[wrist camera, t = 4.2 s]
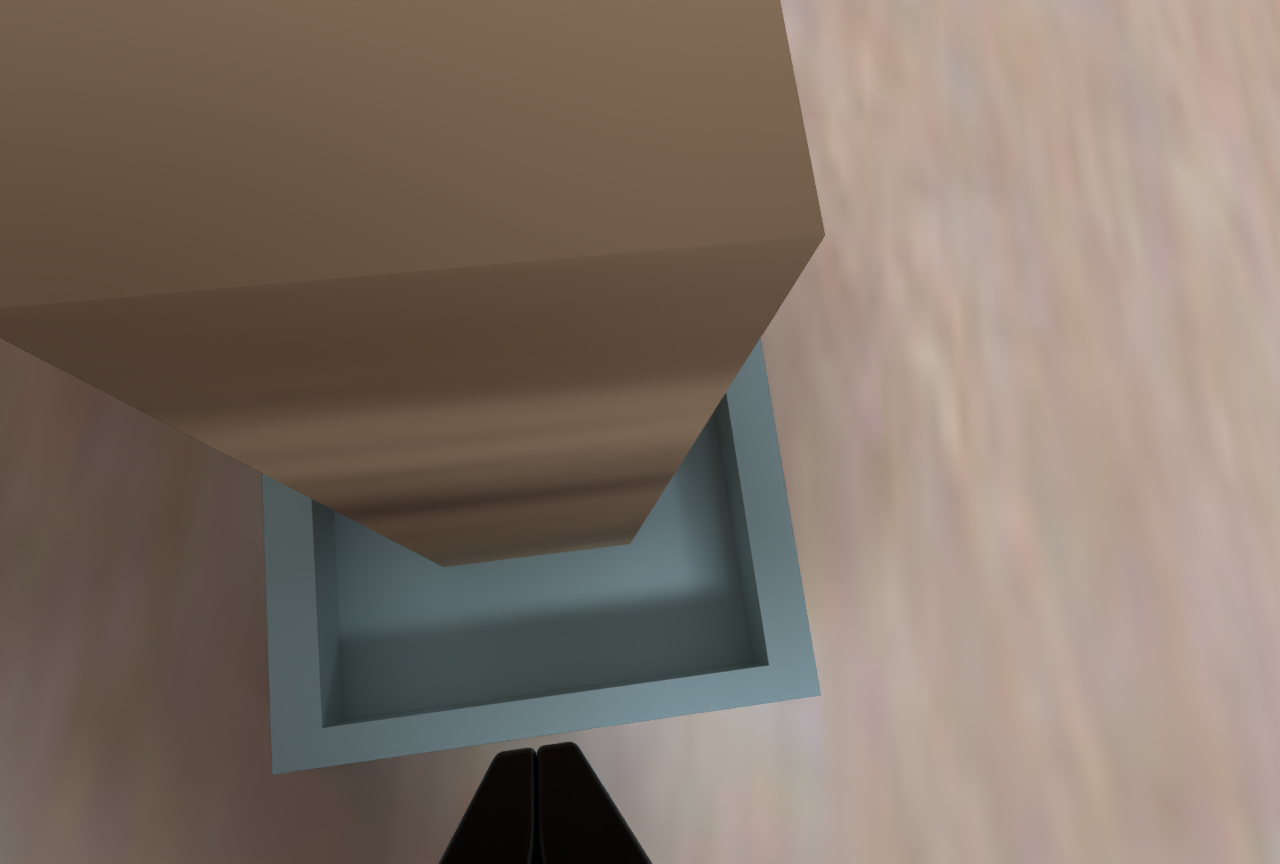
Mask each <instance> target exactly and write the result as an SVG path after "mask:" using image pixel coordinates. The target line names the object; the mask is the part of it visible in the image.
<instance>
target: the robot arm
mask: <svg viewBox="0 0 1280 864" xmlns="http://www.w3.org/2000/svg"><path fill="white" fill-rule="evenodd" d="M439 864H652V862H651V861H650V859H649V857H648V856H647V854H646V853H645V851H644V849H643V848H642V846H641V845H640V843H639V842H638V840H637V838H636V837H635V835H634V834H633V832H632V831H631V829H630V827H629V826H628V824H627V823H626V821H625V819H624V818H623V816H622V815H621V813H620V812H619V810H618V808H617V807H616V805H615V804H614V802H613V801H612V799H611V797H610V796H609V794H608V793H607V791H606V789H605V788H604V786H603V785H602V783H601V782H600V780H599V778H598V777H597V775H596V774H595V772H594V770H593V769H592V767H591V766H590V764H589V763H588V761H587V759H586V758H585V756H584V755H583V753H582V752H581V750H580V748H579V747H578V746H577V745H576V744H575V743H573V742H564V743H557V744H551V745H544V746H541V747H540V748H539V749H538V751H537V754H536V752H535V750H534V749H532V748H524V749H517V750H510V751H503V752H500V753H498V754H497V755H496V756H495V758H494V759H493V761H492V763H491V764H490V766H489V768H488V770H487V772H486V774H485V776H484V778H483V780H482V782H481V784H480V785H479V787H478V789H477V791H476V793H475V795H474V797H473V799H472V801H471V803H470V805H469V807H468V808H467V810H466V812H465V814H464V816H463V818H462V820H461V822H460V824H459V826H458V828H457V829H456V831H455V833H454V835H453V837H452V839H451V841H450V843H449V845H448V847H447V849H446V851H445V852H444V854H443V856H442V858H441V860H440V862H439Z"/></svg>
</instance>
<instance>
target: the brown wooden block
mask: <svg viewBox="0 0 1280 864" xmlns="http://www.w3.org/2000/svg"><path fill="white" fill-rule="evenodd" d="M824 236H825V233H824V228H823V223H822V217H821V212H820V207H819V202H818V196H817V191H816V186H815V181H814V175H813V170H812V165H811V160H810V155H809V149H808V144H807V139H806V134H805V128H804V123H803V118H802V113H801V108H800V102H799V97H798V92H797V87H796V81H795V76H794V71H793V66H792V61H791V55H790V50H789V45H788V40H787V34H786V29H785V24H784V19H783V13H782V8H781V3H780V0H0V338H2V339H4V340H5V341H7V342H9V343H11V344H13V345H15V346H17V347H19V348H21V349H23V350H25V351H27V352H29V353H31V354H33V355H34V356H36V357H38V358H40V359H42V360H44V361H46V362H48V363H50V364H52V365H54V366H56V367H58V368H60V369H61V370H63V371H65V372H67V373H69V374H71V375H73V376H75V377H77V378H79V379H81V380H83V381H85V382H87V383H89V384H90V385H92V386H94V387H96V388H98V389H100V390H102V391H104V392H106V393H108V394H110V395H112V396H114V397H116V398H118V399H119V400H121V401H123V402H125V403H127V404H129V405H131V406H133V407H135V408H137V409H139V410H141V411H143V412H145V413H146V414H148V415H150V416H152V417H154V418H156V419H158V420H160V421H162V422H164V423H166V424H168V425H170V426H172V427H174V428H175V429H177V430H179V431H181V432H183V433H185V434H187V435H189V436H191V437H193V438H195V439H197V440H199V441H201V442H202V443H204V444H206V445H208V446H210V447H212V448H214V449H216V450H218V451H220V452H222V453H224V454H226V455H228V456H230V457H231V458H233V459H235V460H237V461H239V462H241V463H243V464H245V465H247V466H249V467H251V468H253V469H255V470H257V471H259V472H260V473H262V474H264V475H266V476H268V477H270V478H272V479H274V480H276V481H278V482H280V483H282V484H284V485H286V486H287V487H289V488H291V489H293V490H295V491H297V492H299V493H301V494H303V495H305V496H307V497H309V498H311V499H313V500H315V501H316V502H318V503H320V504H322V505H324V506H326V507H328V508H330V509H332V510H334V511H336V512H338V513H340V514H342V515H343V516H345V517H347V518H349V519H351V520H353V521H355V522H357V523H359V524H361V525H363V526H365V527H367V528H369V529H371V530H372V531H374V532H376V533H378V534H380V535H382V536H384V537H386V538H388V539H390V540H392V541H394V542H396V543H398V544H399V545H401V546H403V547H405V548H407V549H409V550H411V551H413V552H415V553H417V554H419V555H421V556H423V557H425V558H427V559H428V560H430V561H432V562H434V563H436V564H438V565H440V566H442V567H449V566H457V565H465V564H473V563H481V562H489V561H497V560H505V559H514V558H522V557H530V556H538V555H546V554H554V553H562V552H570V551H578V550H587V549H595V548H603V547H611V546H619V545H627V544H631V542H632V540H633V539H634V537H635V536H636V534H637V532H638V531H639V529H640V528H641V526H642V525H643V523H644V521H645V520H646V518H647V517H648V515H649V513H650V512H651V510H652V509H653V507H654V506H655V504H656V502H657V501H658V499H659V498H660V496H661V494H662V493H663V491H664V490H665V488H666V487H667V485H668V483H669V482H670V480H671V479H672V477H673V475H674V474H675V472H676V471H677V469H678V467H679V466H680V464H681V463H682V461H683V460H684V458H685V456H686V455H687V453H688V452H689V450H690V448H691V447H692V445H693V444H694V442H695V441H696V439H697V437H698V436H699V434H700V433H701V431H702V429H703V428H704V426H705V425H706V423H707V422H708V420H709V418H710V417H711V415H712V414H713V412H714V410H715V409H716V407H717V406H718V404H719V403H720V401H721V399H722V398H723V396H724V395H725V393H726V391H727V390H728V388H729V387H730V385H731V384H732V382H733V380H734V379H735V377H736V376H737V374H738V372H739V371H740V369H741V368H742V366H743V365H744V363H745V361H746V360H747V358H748V357H749V355H750V353H751V352H752V350H753V349H754V347H755V345H756V344H757V342H758V341H759V339H760V338H761V336H762V334H763V333H764V331H765V330H766V328H767V326H768V325H769V323H770V322H771V320H772V319H773V317H774V315H775V314H776V312H777V311H778V309H779V307H780V306H781V304H782V303H783V301H784V300H785V298H786V296H787V295H788V293H789V292H790V290H791V288H792V287H793V285H794V284H795V282H796V281H797V279H798V277H799V276H800V274H801V273H802V271H803V269H804V268H805V266H806V265H807V263H808V262H809V260H810V258H811V257H812V255H813V254H814V252H815V250H816V249H817V247H818V246H819V244H820V243H821V241H822V239H823V238H824Z"/></svg>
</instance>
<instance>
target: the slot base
mask: <svg viewBox="0 0 1280 864" xmlns="http://www.w3.org/2000/svg"><path fill="white" fill-rule="evenodd" d="M262 490H263V519H264V549H265V578H266V608H267V637H268V667H269V696H270V726H271V755H272V775H274V774H281V773H288V772H295V771H302V770H309V769H316V768H323V767H329V766H336V765H343V764H350V763H357V762H364V761H371V760H378V759H385V758H392V757H399V756H405V755H412V754H419V753H426V752H433V751H440V750H447V749H454V748H461V747H468V746H475V745H481V744H488V743H495V742H502V741H509V740H516V739H523V738H530V737H537V736H544V735H551V734H558V733H564V732H571V731H578V730H585V729H592V728H599V727H606V726H613V725H620V724H627V723H634V722H640V721H647V720H654V719H661V718H668V717H675V716H682V715H689V714H696V713H703V712H710V711H716V710H723V709H730V708H737V707H744V706H751V705H758V704H765V703H772V702H779V701H786V700H792V699H799V698H806V697H813V696H820V695H821V693H820V687H819V681H818V675H817V669H816V664H815V658H814V652H813V646H812V640H811V634H810V628H809V622H808V616H807V610H806V604H805V598H804V592H803V587H802V581H801V575H800V569H799V563H798V557H797V551H796V545H795V539H794V533H793V527H792V521H791V515H790V510H789V504H788V498H787V492H786V486H785V480H784V474H783V468H782V462H781V456H780V450H779V444H778V438H777V433H776V427H775V421H774V415H773V409H772V403H771V397H770V391H769V385H768V379H767V373H766V367H765V361H764V356H763V350H762V344H761V338H760V339H759V341H758V342H757V344H756V345H755V347H754V349H753V350H752V352H751V353H750V355H749V357H748V358H747V360H746V361H745V363H744V365H743V366H742V368H741V369H740V371H739V372H738V374H737V376H736V377H735V379H734V380H733V382H732V384H731V385H730V387H729V388H728V390H727V391H726V393H725V395H724V396H723V398H722V399H721V401H720V403H719V404H718V406H717V407H716V409H715V410H714V412H713V414H712V415H711V417H710V418H709V420H708V422H707V423H706V425H705V426H704V428H703V429H702V431H701V433H700V434H699V436H698V437H697V439H696V441H695V442H694V444H693V445H692V447H691V448H690V450H689V452H688V453H687V455H686V456H685V458H684V460H683V461H682V463H681V464H680V466H679V467H678V469H677V471H676V472H675V474H674V475H673V477H672V479H671V480H670V482H669V483H668V485H667V487H666V488H665V490H664V491H663V493H662V494H661V496H660V498H659V499H658V501H657V502H656V504H655V506H654V507H653V509H652V510H651V512H650V513H649V515H648V517H647V518H646V520H645V521H644V523H643V525H642V526H641V528H640V529H639V531H638V532H637V534H636V536H635V537H634V539H633V540H632V542H631V544H627V545H619V546H611V547H603V548H595V549H587V550H578V551H570V552H562V553H554V554H546V555H538V556H530V557H522V558H514V559H505V560H497V561H489V562H481V563H473V564H465V565H457V566H449V567H442V566H440V565H438V564H436V563H434V562H432V561H430V560H428V559H427V558H425V557H423V556H421V555H419V554H417V553H415V552H413V551H411V550H409V549H407V548H405V547H403V546H401V545H399V544H398V543H396V542H394V541H392V540H390V539H388V538H386V537H384V536H382V535H380V534H378V533H376V532H374V531H372V530H371V529H369V528H367V527H365V526H363V525H361V524H359V523H357V522H355V521H353V520H351V519H349V518H347V517H345V516H343V515H342V514H340V513H338V512H336V511H334V510H332V509H330V508H328V507H326V506H324V505H322V504H320V503H318V502H316V501H315V500H313V499H311V498H309V497H307V496H305V495H303V494H301V493H299V492H297V491H295V490H293V489H291V488H289V487H287V486H286V485H284V484H282V483H280V482H278V481H276V480H274V479H272V478H270V477H268V476H266V475H264V474H262Z"/></svg>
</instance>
